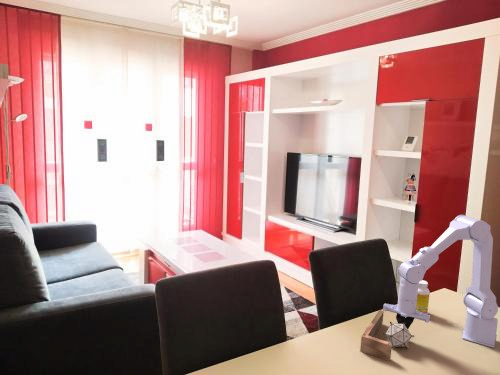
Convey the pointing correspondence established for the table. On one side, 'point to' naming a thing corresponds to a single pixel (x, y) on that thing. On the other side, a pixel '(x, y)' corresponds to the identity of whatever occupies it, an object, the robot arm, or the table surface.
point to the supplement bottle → (422, 297)
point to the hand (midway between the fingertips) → (403, 335)
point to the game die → (398, 335)
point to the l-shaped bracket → (375, 340)
